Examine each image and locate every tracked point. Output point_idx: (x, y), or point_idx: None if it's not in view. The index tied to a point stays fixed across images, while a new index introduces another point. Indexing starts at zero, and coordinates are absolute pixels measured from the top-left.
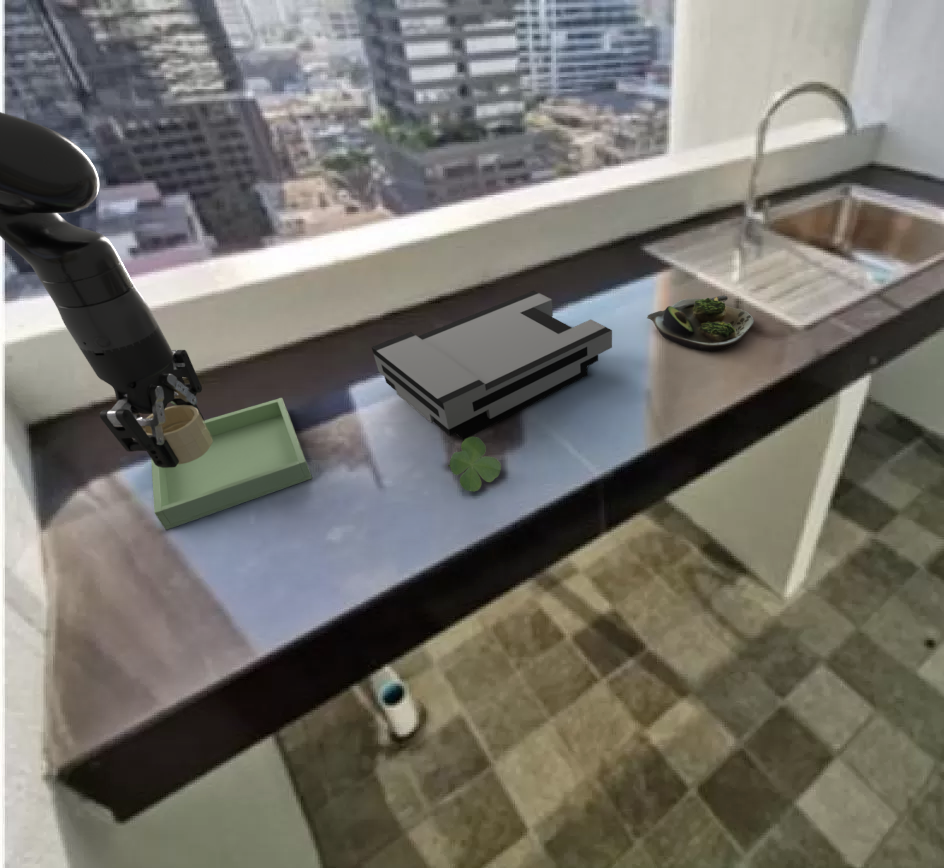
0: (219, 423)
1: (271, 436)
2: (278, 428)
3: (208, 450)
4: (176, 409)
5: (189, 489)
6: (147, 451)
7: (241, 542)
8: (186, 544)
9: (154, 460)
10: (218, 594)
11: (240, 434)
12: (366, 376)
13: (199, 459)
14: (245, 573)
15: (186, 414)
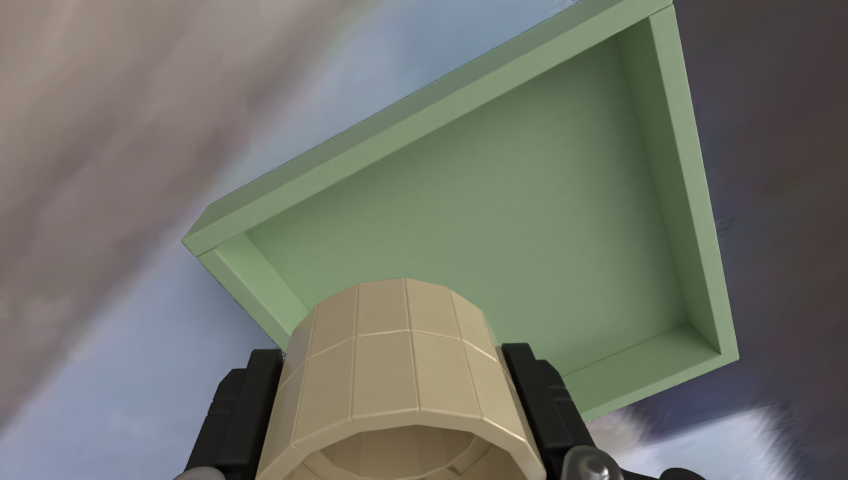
0: (680, 210)
1: (589, 329)
2: (623, 332)
3: (568, 183)
4: (522, 473)
5: (375, 208)
6: (192, 456)
7: (195, 389)
8: (166, 281)
9: (214, 408)
10: (36, 406)
11: (627, 247)
12: (789, 427)
13: (524, 174)
14: (108, 428)
15: (508, 462)
